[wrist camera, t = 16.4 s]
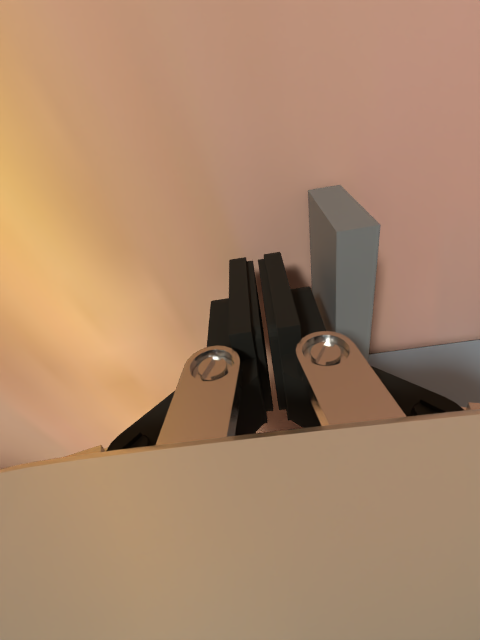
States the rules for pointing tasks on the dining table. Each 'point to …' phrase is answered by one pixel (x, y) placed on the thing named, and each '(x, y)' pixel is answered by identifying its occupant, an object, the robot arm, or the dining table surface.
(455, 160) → the dining table surface
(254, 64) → the dining table surface
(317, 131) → the dining table surface
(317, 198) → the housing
